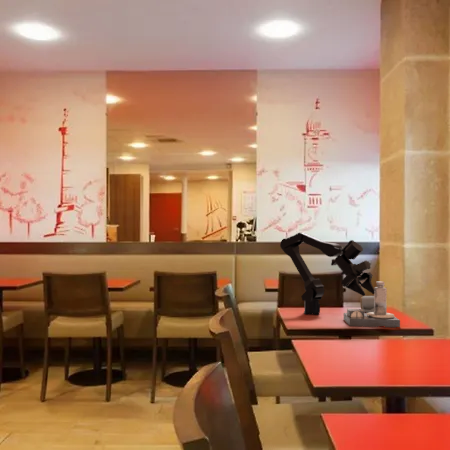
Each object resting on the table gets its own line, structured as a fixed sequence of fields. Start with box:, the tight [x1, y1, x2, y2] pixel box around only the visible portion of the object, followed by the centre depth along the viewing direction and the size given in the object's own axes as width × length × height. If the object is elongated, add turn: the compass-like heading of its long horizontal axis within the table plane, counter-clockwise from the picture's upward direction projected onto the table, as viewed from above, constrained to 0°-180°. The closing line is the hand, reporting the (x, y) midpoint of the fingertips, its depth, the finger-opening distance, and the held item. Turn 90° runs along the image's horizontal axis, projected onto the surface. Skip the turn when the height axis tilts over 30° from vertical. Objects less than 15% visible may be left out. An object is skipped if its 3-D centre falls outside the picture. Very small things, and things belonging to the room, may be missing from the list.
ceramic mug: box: [359, 295, 374, 313], centre depth 243 cm, size 11×8×8 cm
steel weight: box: [373, 281, 388, 315], centre depth 211 cm, size 5×5×14 cm
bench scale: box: [343, 308, 401, 328], centre depth 211 cm, size 20×15×6 cm
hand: (369, 294), depth 214 cm, fingers open, 9 cm apart
